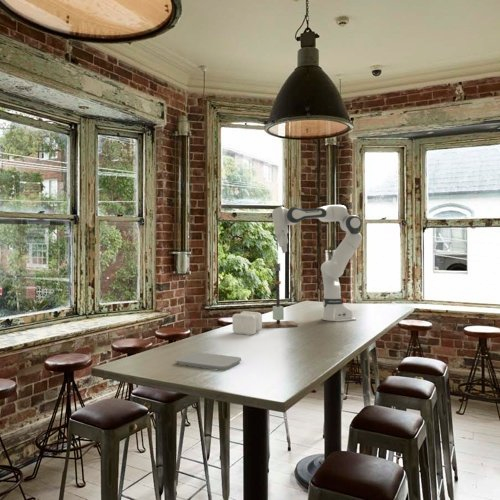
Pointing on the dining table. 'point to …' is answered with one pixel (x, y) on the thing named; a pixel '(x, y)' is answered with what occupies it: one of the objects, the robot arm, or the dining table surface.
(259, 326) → the cable organizer
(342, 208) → the robot arm
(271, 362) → the dining table surface
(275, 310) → the sleeve
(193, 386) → the dining table surface
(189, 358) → the tablet
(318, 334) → the dining table surface
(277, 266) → the stand
